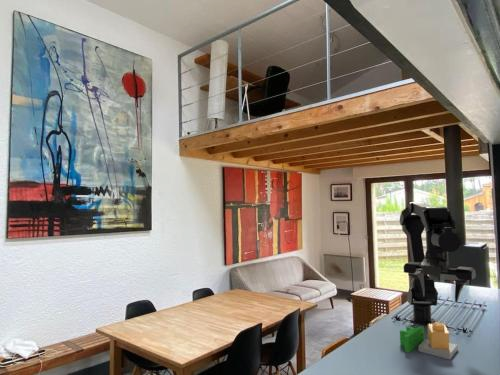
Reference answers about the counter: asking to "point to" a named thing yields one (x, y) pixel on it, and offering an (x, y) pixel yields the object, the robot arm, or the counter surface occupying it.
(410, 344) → the pipe clamp
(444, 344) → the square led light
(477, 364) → the counter surface
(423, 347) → the plate
